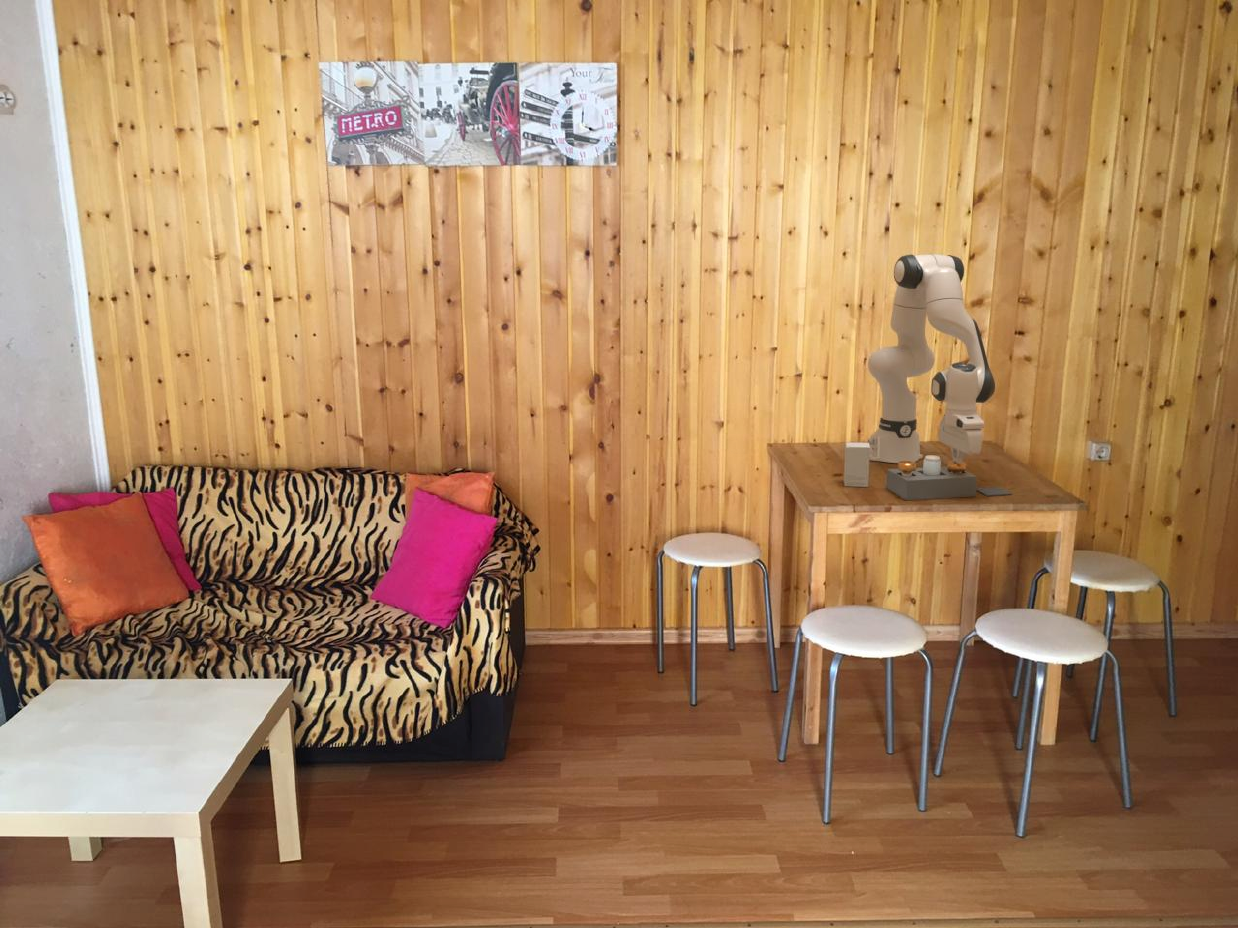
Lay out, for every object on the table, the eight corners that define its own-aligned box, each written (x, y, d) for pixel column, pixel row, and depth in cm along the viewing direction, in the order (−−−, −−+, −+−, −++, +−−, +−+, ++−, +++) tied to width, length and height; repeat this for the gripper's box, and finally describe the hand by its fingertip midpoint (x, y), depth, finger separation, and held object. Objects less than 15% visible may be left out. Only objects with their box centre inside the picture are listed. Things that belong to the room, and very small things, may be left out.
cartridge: (918, 490, 307) (921, 455, 305) (934, 489, 308) (936, 454, 305) (926, 494, 302) (928, 459, 300) (942, 493, 303) (944, 458, 301)
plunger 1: (894, 485, 306) (895, 461, 304) (910, 484, 306) (911, 460, 305) (901, 489, 301) (902, 465, 299) (917, 488, 301) (919, 464, 300)
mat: (973, 489, 307) (973, 488, 307) (998, 488, 309) (998, 486, 308) (987, 496, 300) (987, 495, 300) (1012, 494, 301) (1012, 493, 301)
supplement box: (868, 487, 312) (870, 447, 309) (843, 486, 313) (845, 446, 310) (867, 481, 319) (869, 442, 316) (843, 480, 320) (845, 441, 317)
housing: (886, 488, 310) (887, 469, 309) (953, 484, 314) (954, 465, 312) (906, 500, 297) (907, 480, 295) (976, 496, 300) (977, 476, 299)
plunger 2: (943, 485, 308) (944, 461, 306) (959, 484, 309) (960, 460, 307) (951, 489, 303) (953, 465, 302) (967, 488, 304) (969, 464, 302)
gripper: (934, 412, 311) (931, 455, 314) (967, 424, 291) (964, 471, 294) (953, 411, 312) (950, 454, 315) (987, 423, 292) (984, 470, 295)
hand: (957, 463), depth 304 cm, fingers closed, pressing on plunger 2
